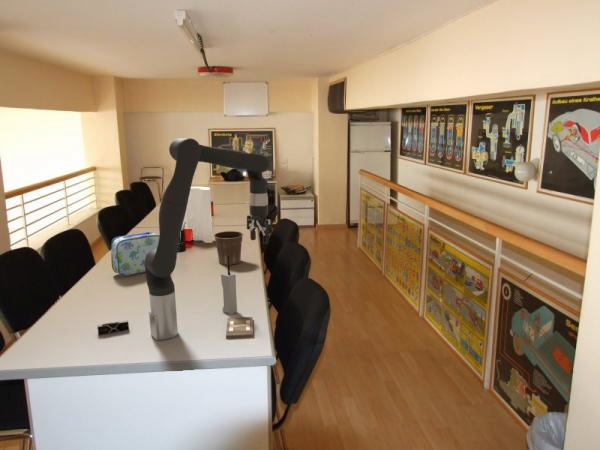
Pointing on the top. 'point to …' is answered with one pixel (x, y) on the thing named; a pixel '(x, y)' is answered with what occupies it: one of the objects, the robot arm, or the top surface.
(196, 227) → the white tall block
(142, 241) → the lunch box
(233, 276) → the vintage mobile phone
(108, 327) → the graphics card
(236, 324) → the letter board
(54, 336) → the top surface
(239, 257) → the plant pot
